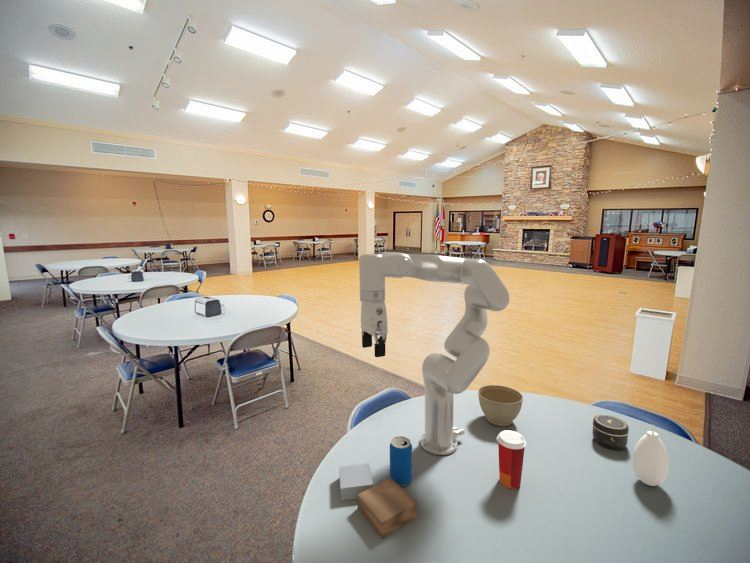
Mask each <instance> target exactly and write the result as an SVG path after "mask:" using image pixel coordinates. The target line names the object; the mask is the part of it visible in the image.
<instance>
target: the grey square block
mask: <svg viewBox="0 0 750 563" xmlns="http://www.w3.org/2000/svg"><path fill="white" fill-rule="evenodd" d="M338 470H339V471H338V473H339V474H338V475H339V477H338V478H339V490H340V491H339V492H340V501H341V502H343V501H350V500H357V494H359V493H361V492H363V491H365V490H367V489H369V488H371V487H373V486H375V485H374V481H373V475H372V470H371V465H370V462H369V463H360V464H359V463H358V464H352V465H351V464H350V465H343V466H341V465H340V466H339V467H338Z"/></svg>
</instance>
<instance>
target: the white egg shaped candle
mask: <svg viewBox="0 0 750 563" xmlns="http://www.w3.org/2000/svg"><path fill="white" fill-rule="evenodd" d="M631 460H632V468H633V470H634V473H635V475H636V477H637V478H638V479H639V480H640V482H642V483H643V484H645V485H647V486H651V487H655V486H659V485H661V484H662V483H663V482H664V481H665V479H666V478H667V477H668V472H669V468H670V467H669V463H670V462H669V458H668V453H667V449H666V447H665V445H664V443H663V441H662V440H661V438H660V435H659V433H657V432H655V424H654V423H653V424H652V427H651V430H648V431H646V433H645V434H643V436H641V437H640V438H639V439H638V441H637V443H636V444H635V446H634V449H633V453H632V458H631Z"/></svg>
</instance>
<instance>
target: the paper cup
mask: <svg viewBox="0 0 750 563" xmlns="http://www.w3.org/2000/svg"><path fill="white" fill-rule="evenodd" d="M496 441H497V444H498V472H499V473H498V475H499V483H500V484H501V485H503V487H505V488H508V489H510V490H516V489H519V488H520V487H521V483H522V474H523V465H524V464H523V463H524V457H525V456H524V455H525V449H526V448H525V447H526V446H527V442H526V440H525V438H524V436H523V435H522V434H521V433H519V432H517V431H514V430H508V429H507V430H505V429H504V430H502V431H500V432H499V433H498V435H497V436H496Z"/></svg>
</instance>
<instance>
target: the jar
mask: <svg viewBox="0 0 750 563" xmlns="http://www.w3.org/2000/svg"><path fill="white" fill-rule="evenodd" d="M592 436H593V441H594V442H595V443H597V444H598V445H599V446H600V447H603V448H605V449H608V450H612V451H622V450H624V449H625V448H626V447H627V444H628V442H629V441H628V437H629V424H628V423H627V422H625V421H624V420H623V419H621V418H618V417H616V416H612V415H608V414H598V415H597V414H596V415H595V416H594V417H593V420H592Z"/></svg>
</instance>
